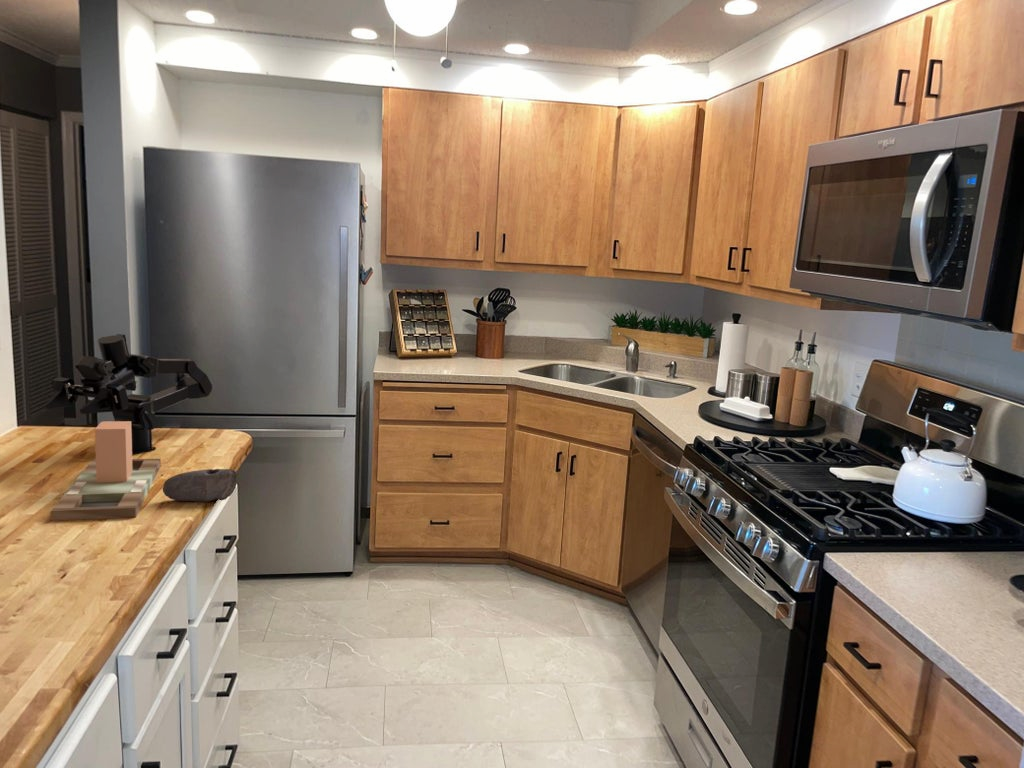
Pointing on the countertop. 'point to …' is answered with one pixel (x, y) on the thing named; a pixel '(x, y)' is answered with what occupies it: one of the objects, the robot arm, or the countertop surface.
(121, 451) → the terracotta block
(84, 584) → the countertop surface
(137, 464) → the trap board
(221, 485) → the perforated stone tool
